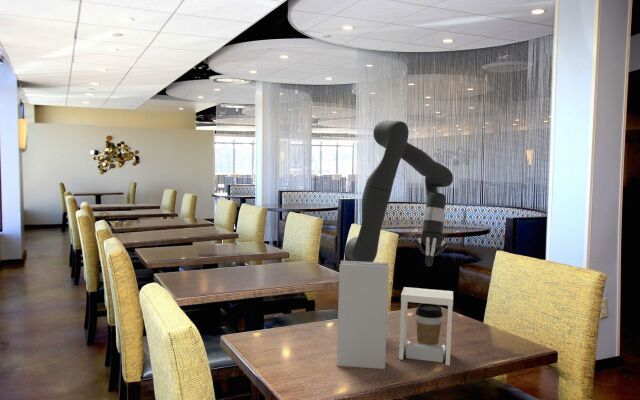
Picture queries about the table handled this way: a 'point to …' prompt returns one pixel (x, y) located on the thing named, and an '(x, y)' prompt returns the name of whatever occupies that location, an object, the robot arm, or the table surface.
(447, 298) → the white rectangular frame
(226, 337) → the table surface
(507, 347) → the table surface
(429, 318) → the coffee cup
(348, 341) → the tall white box
